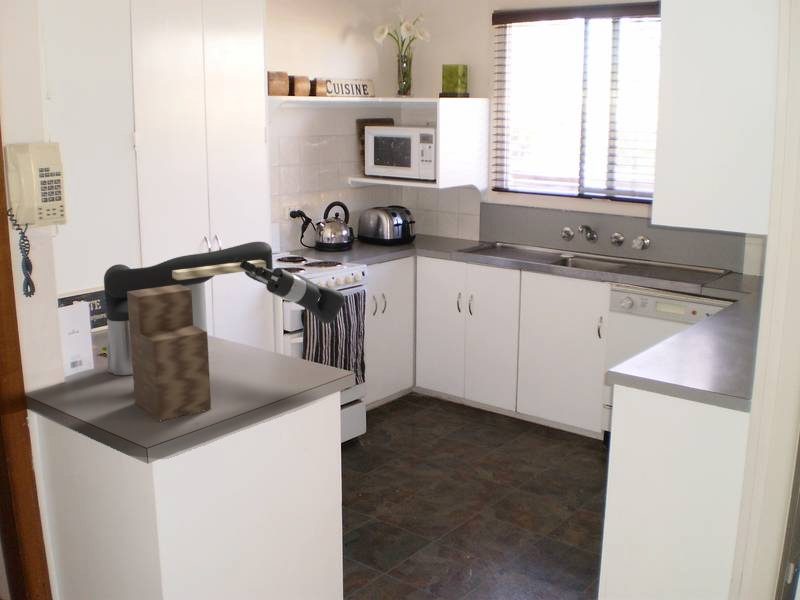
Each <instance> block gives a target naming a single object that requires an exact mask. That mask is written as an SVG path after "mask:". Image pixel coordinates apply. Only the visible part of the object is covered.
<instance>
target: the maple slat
mask: <svg viewBox="0 0 800 600" xmlns="http://www.w3.org/2000/svg"><path fill="white" fill-rule="evenodd" d="M247 262H249V263H251V264H253V265H254V266H255V265H258V266H259V267H265V268H266V261H263V260H253V261H247ZM240 264H241V262H237V263H229V264H221V265H213V266H205V267H197V268H189V269H181V270H173V271H172V278H174V279H176V280H184V279H191V278H199V277H206V276H214V275H215V276H220V275H227V274H228V275H229V274H234V273H235V274H236V273H243V272H244V271H247V270H245V269H243V268H241V267H240ZM244 273H245V272H244ZM215 276H214V277H215Z"/></svg>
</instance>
